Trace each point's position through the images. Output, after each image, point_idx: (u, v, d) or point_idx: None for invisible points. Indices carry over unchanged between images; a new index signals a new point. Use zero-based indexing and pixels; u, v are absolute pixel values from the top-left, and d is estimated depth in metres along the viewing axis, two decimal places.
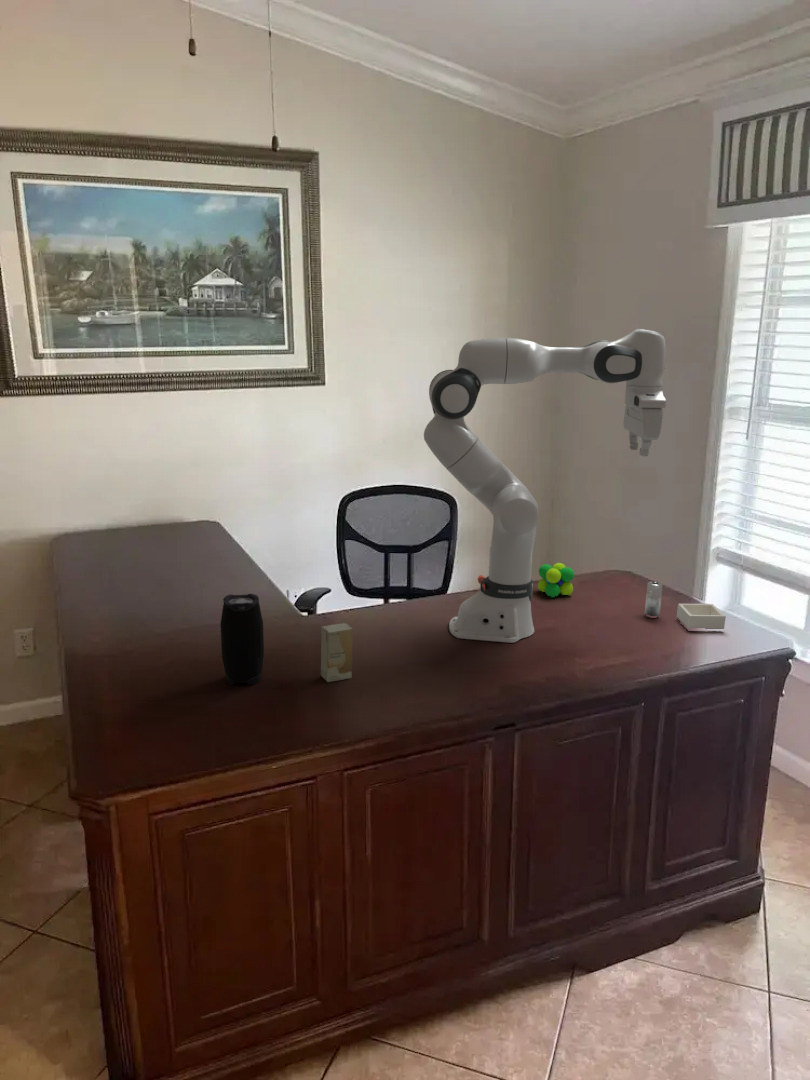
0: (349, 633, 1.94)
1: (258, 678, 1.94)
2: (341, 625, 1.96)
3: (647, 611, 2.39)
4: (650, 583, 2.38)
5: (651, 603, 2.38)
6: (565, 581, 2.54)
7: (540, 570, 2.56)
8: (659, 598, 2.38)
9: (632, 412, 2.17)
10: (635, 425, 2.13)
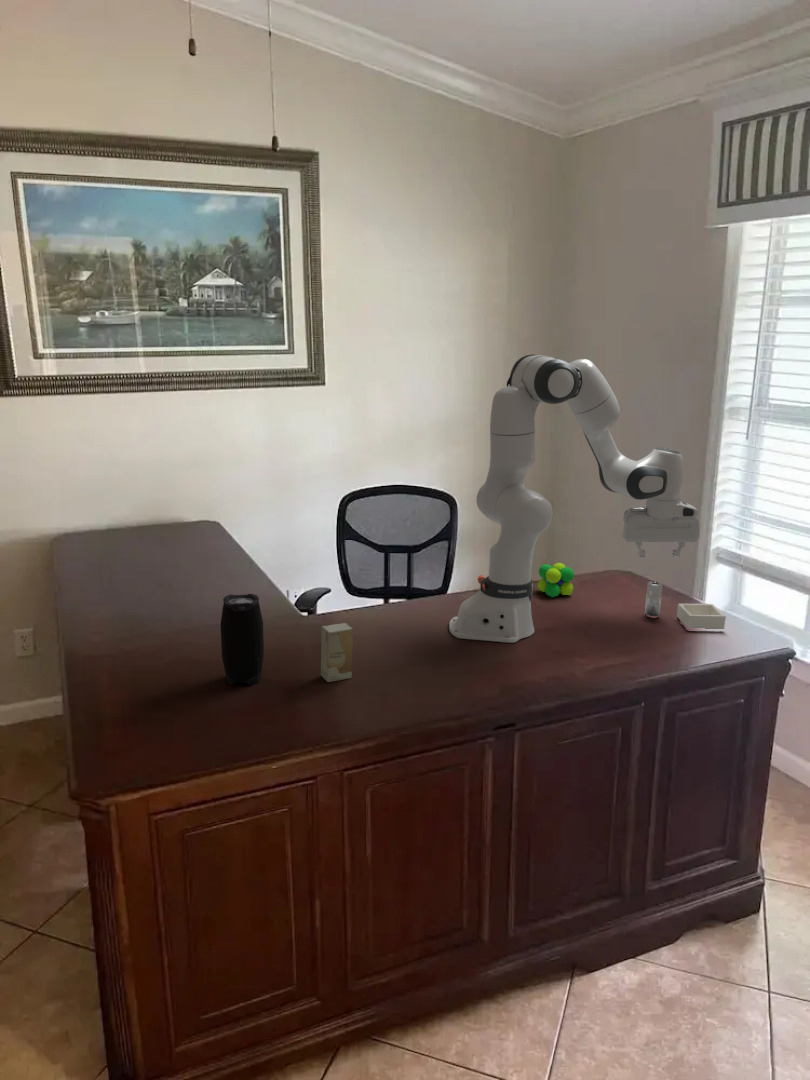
0: (349, 633, 1.94)
1: (258, 678, 1.94)
2: (341, 625, 1.96)
3: (647, 611, 2.39)
4: (650, 583, 2.38)
5: (651, 603, 2.38)
6: (565, 581, 2.54)
7: (540, 570, 2.56)
8: (659, 598, 2.38)
9: (651, 524, 2.32)
10: (667, 534, 2.33)
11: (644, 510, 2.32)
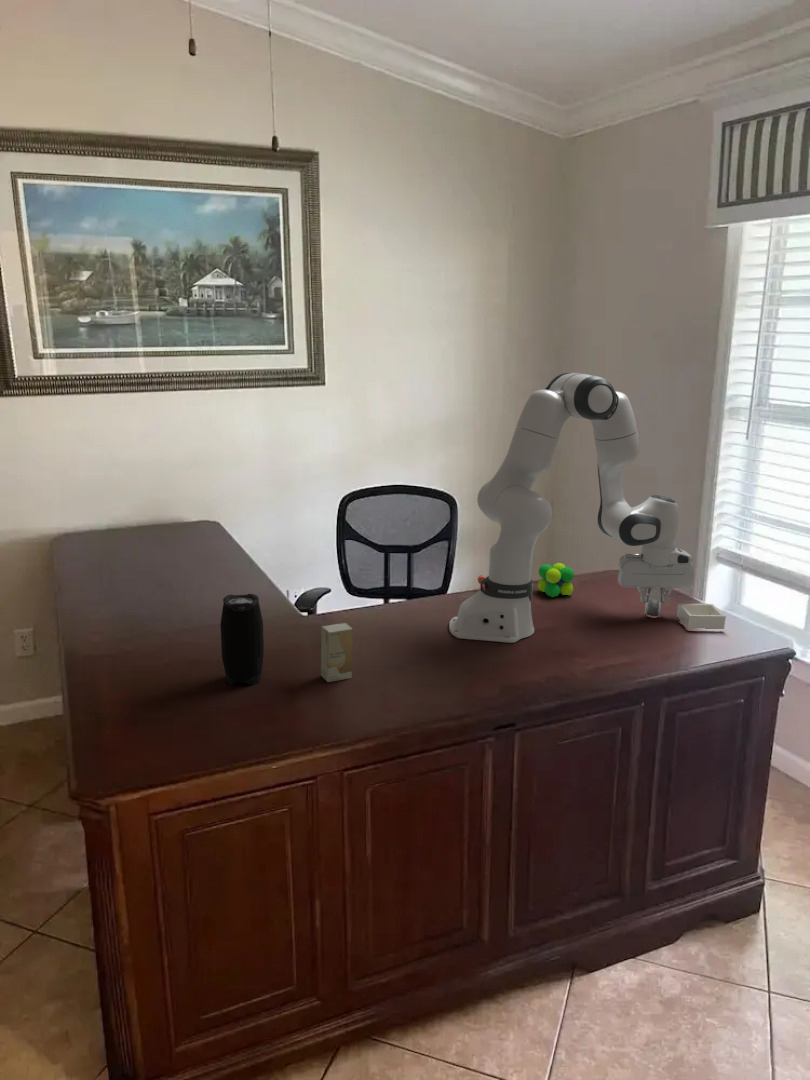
0: (349, 633, 1.94)
1: (258, 678, 1.94)
2: (341, 625, 1.96)
3: (647, 611, 2.39)
4: None
5: (651, 603, 2.38)
6: (565, 581, 2.54)
7: (540, 570, 2.56)
8: (659, 598, 2.38)
9: (647, 570, 2.35)
10: (662, 580, 2.36)
11: (639, 556, 2.35)
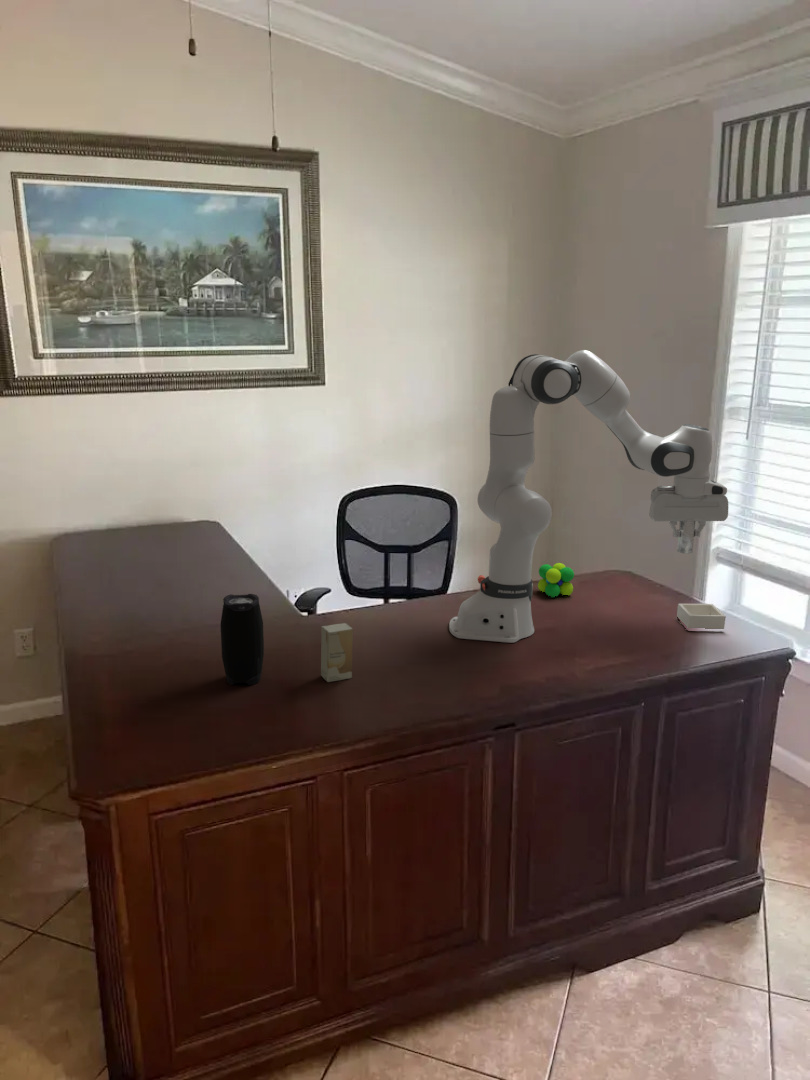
0: (349, 633, 1.94)
1: (258, 678, 1.94)
2: (341, 625, 1.96)
3: (680, 546, 2.31)
4: None
5: (684, 538, 2.29)
6: (565, 581, 2.54)
7: (540, 570, 2.56)
8: (692, 532, 2.29)
9: (679, 503, 2.27)
10: (695, 513, 2.27)
11: (672, 489, 2.27)
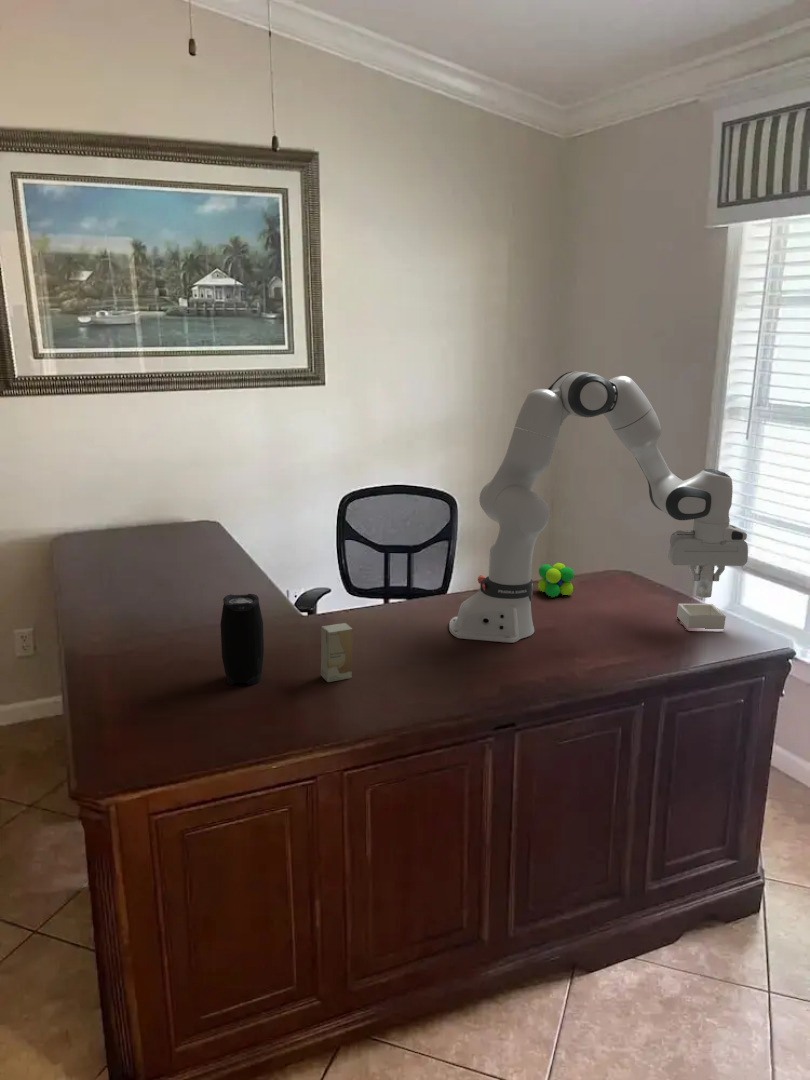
0: (349, 633, 1.94)
1: (258, 678, 1.94)
2: (341, 625, 1.96)
3: (699, 590, 2.30)
4: None
5: (703, 582, 2.29)
6: (565, 581, 2.54)
7: (540, 570, 2.56)
8: (711, 576, 2.29)
9: (699, 547, 2.27)
10: (714, 557, 2.27)
11: (691, 533, 2.27)
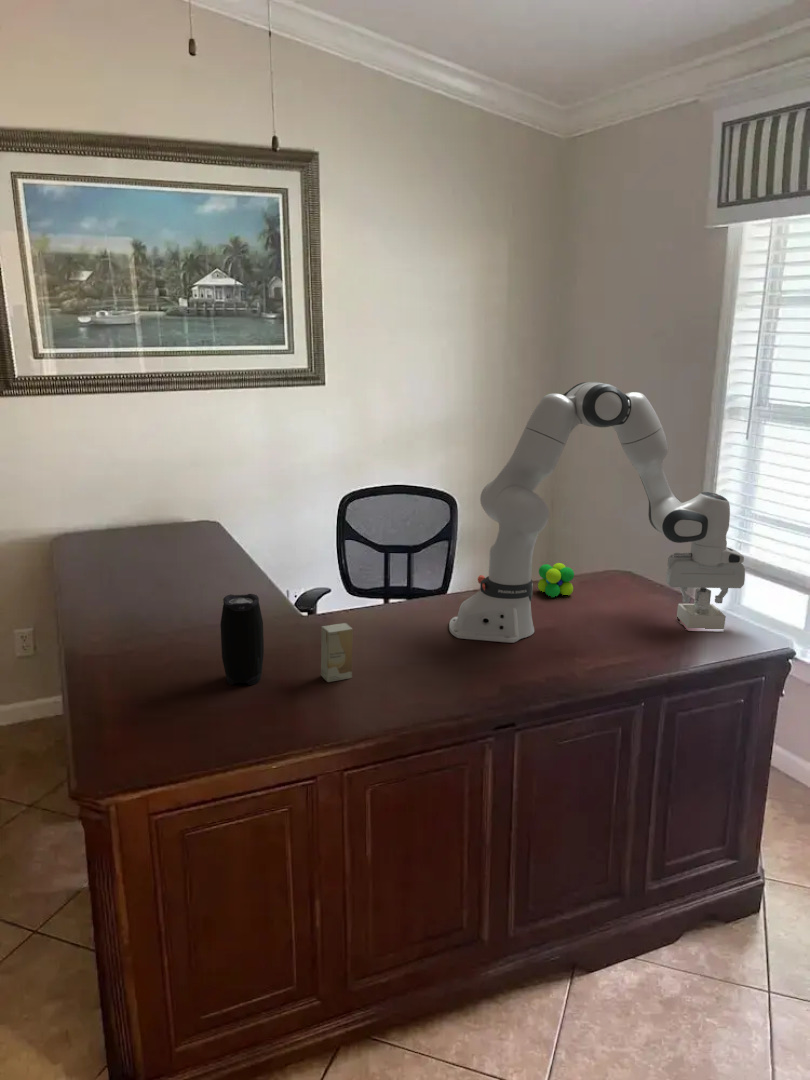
0: (349, 633, 1.94)
1: (258, 678, 1.94)
2: (341, 625, 1.96)
3: None
4: (698, 590, 2.31)
5: (699, 611, 2.31)
6: (565, 581, 2.54)
7: (540, 570, 2.56)
8: (708, 605, 2.31)
9: (696, 569, 2.28)
10: (712, 580, 2.29)
11: (689, 555, 2.28)
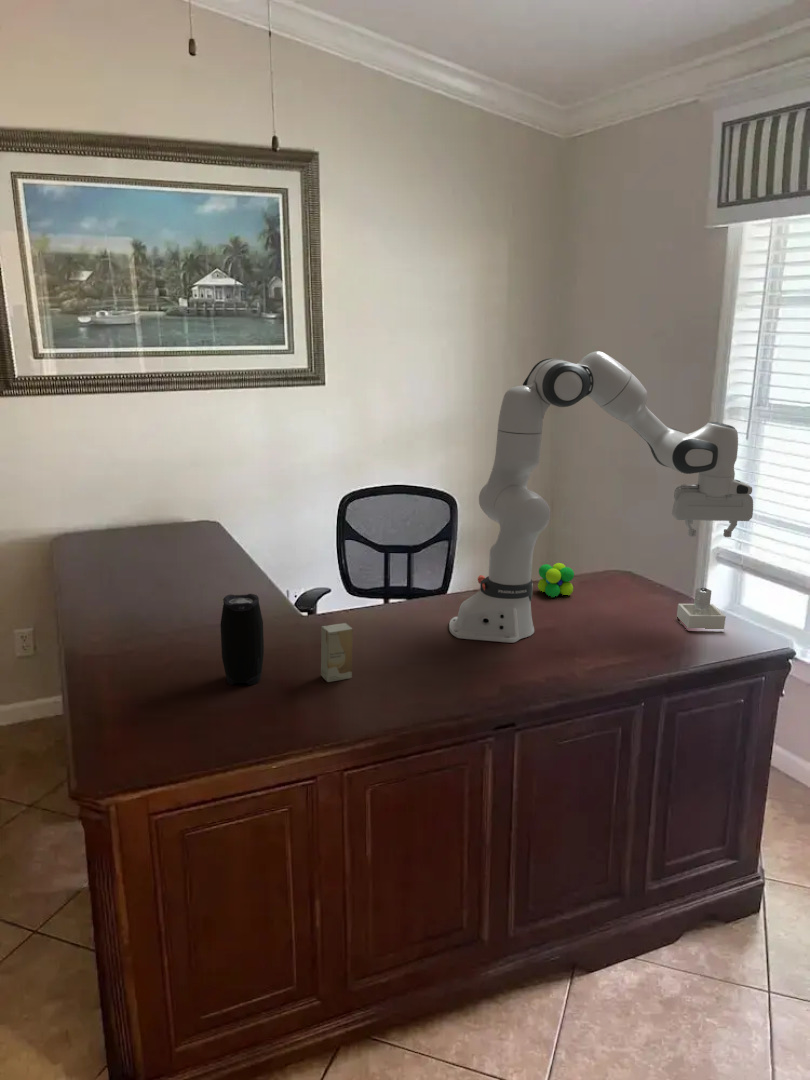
0: (349, 633, 1.94)
1: (258, 678, 1.94)
2: (341, 625, 1.96)
3: None
4: (698, 590, 2.31)
5: (700, 611, 2.31)
6: (565, 581, 2.54)
7: (540, 570, 2.56)
8: (708, 605, 2.31)
9: (703, 501, 2.23)
10: (719, 512, 2.24)
11: (696, 487, 2.23)
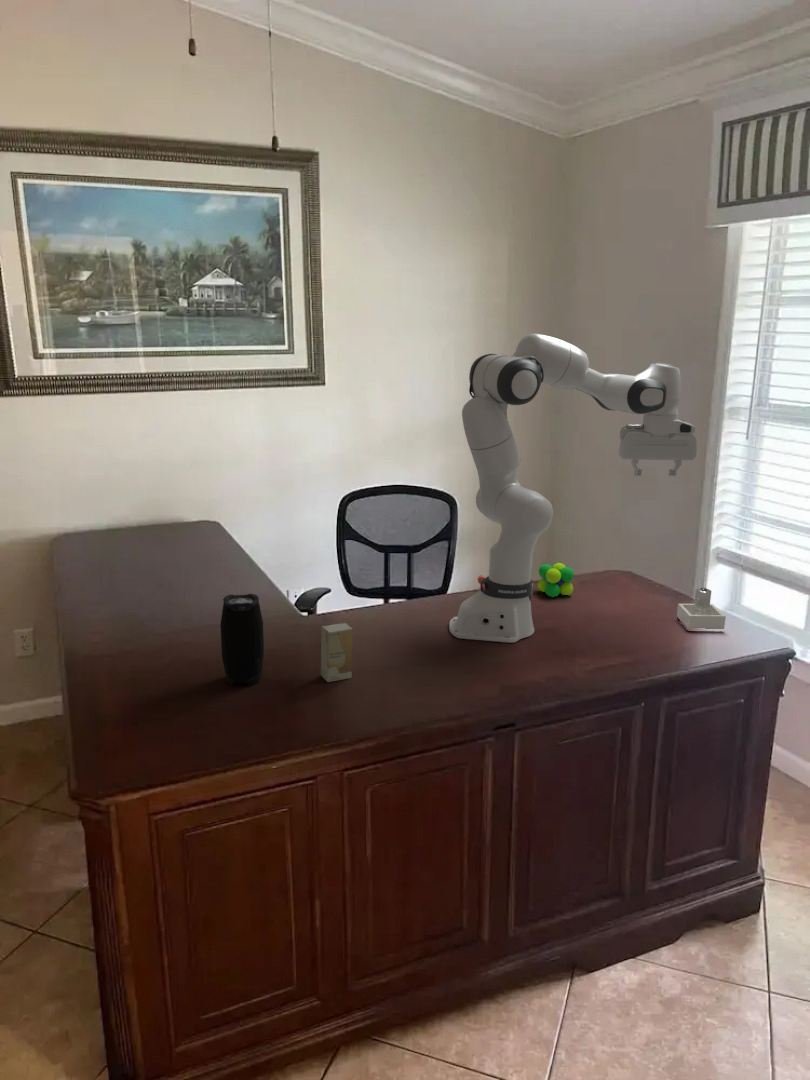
0: (349, 633, 1.94)
1: (258, 678, 1.94)
2: (341, 625, 1.96)
3: None
4: (698, 590, 2.31)
5: (700, 611, 2.31)
6: (565, 581, 2.54)
7: (540, 570, 2.56)
8: (708, 605, 2.31)
9: (648, 441, 2.29)
10: (664, 451, 2.29)
11: (641, 427, 2.29)
